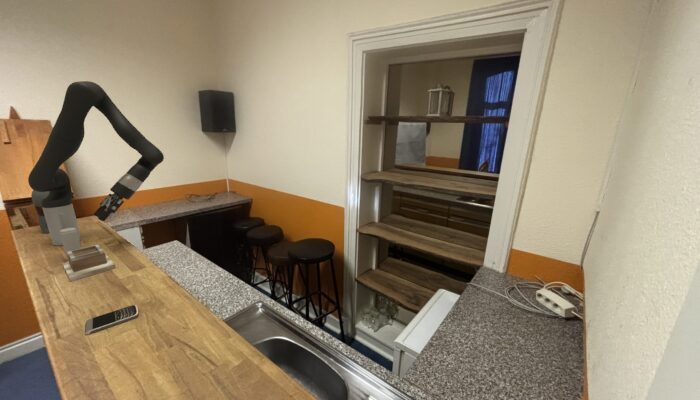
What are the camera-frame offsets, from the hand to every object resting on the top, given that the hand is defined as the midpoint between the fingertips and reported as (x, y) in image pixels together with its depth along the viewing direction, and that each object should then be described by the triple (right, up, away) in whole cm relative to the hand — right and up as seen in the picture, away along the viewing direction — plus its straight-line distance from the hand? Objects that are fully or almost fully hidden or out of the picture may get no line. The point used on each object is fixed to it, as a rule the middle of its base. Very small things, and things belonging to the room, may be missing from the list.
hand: (98, 217), depth 114 cm
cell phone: (+40, -26, -39) cm, 61 cm away
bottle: (-46, -8, +26) cm, 53 cm away
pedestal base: (+7, -18, -11) cm, 22 cm away
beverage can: (-6, -16, -3) cm, 17 cm away
